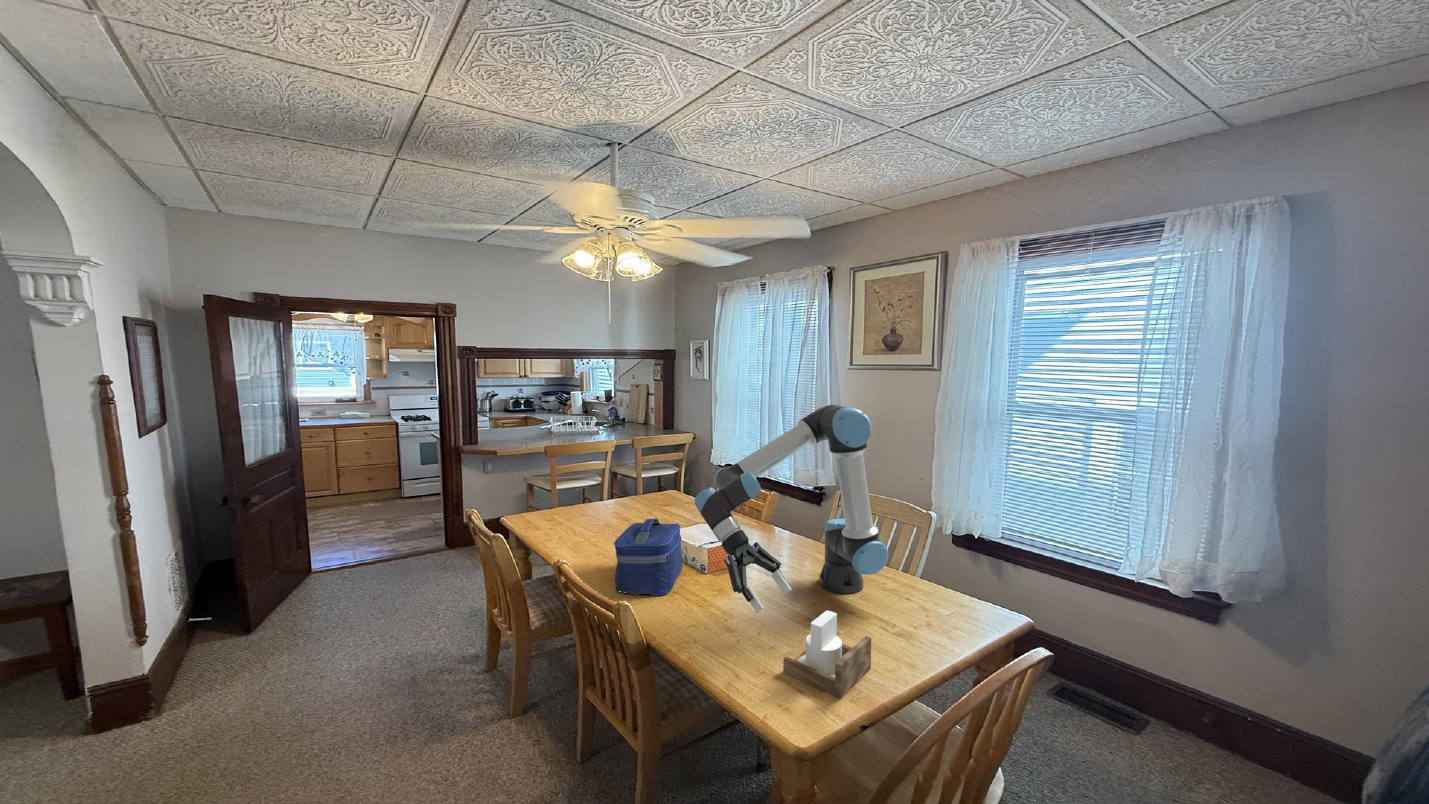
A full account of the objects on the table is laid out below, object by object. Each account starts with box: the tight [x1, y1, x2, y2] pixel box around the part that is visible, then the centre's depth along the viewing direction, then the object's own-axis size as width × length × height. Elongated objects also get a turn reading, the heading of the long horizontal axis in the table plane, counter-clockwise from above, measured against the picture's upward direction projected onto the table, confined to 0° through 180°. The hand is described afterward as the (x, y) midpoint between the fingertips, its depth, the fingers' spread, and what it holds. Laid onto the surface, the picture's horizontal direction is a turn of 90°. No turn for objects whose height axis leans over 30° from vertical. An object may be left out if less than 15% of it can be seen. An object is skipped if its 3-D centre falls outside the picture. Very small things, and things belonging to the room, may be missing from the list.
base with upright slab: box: [805, 610, 843, 674], centre depth 133 cm, size 9×9×12 cm
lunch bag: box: [613, 517, 683, 596], centre depth 190 cm, size 31×21×20 cm
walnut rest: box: [782, 635, 872, 700], centre depth 133 cm, size 16×16×8 cm
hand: (774, 601), depth 143 cm, fingers open, 13 cm apart
